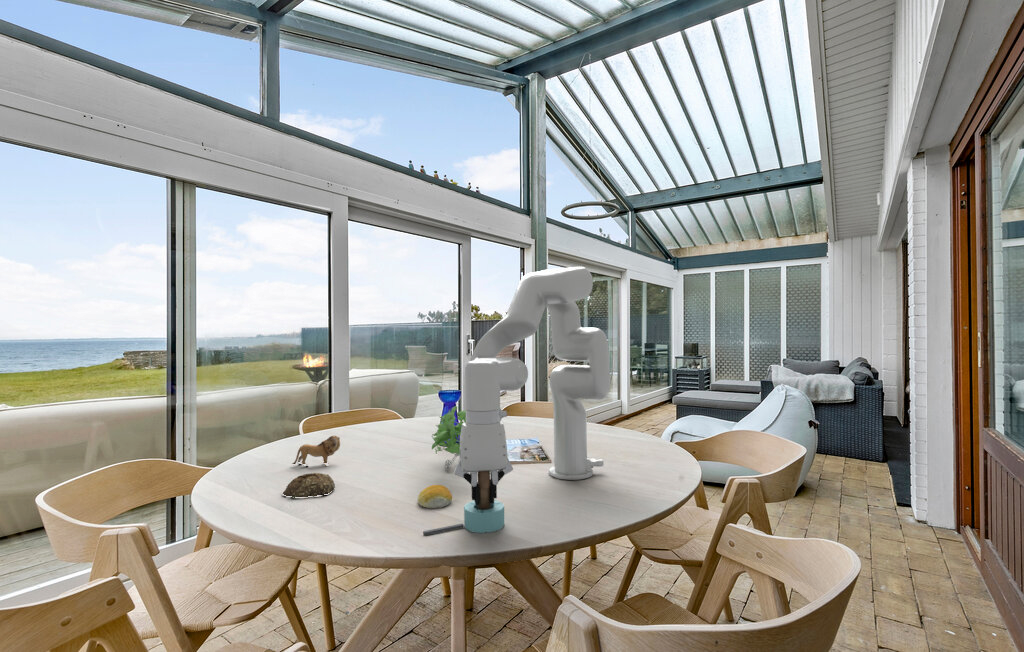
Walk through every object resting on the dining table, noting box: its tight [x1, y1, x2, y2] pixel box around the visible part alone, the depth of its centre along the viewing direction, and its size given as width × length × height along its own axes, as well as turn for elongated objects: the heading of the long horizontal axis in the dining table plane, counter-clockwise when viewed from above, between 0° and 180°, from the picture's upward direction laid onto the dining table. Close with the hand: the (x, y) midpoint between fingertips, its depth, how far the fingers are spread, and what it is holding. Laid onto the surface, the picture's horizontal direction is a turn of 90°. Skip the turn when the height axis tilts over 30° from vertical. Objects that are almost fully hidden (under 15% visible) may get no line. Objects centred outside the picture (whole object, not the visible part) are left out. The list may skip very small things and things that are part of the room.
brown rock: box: [282, 472, 336, 498], centre depth 129 cm, size 13×12×5 cm
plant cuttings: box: [431, 405, 466, 471], centre depth 148 cm, size 35×17×22 cm
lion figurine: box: [292, 435, 341, 465], centre depth 155 cm, size 15×5×9 cm, turn 107°
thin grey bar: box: [422, 523, 465, 536], centre depth 102 cm, size 9×1×1 cm, turn 117°
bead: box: [463, 499, 505, 534], centre depth 105 cm, size 8×8×4 cm
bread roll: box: [417, 484, 453, 509], centre depth 120 cm, size 8×9×4 cm
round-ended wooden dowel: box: [477, 471, 491, 510], centre depth 105 cm, size 3×3×12 cm
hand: (484, 501), depth 105 cm, fingers closed on round-ended wooden dowel, 2 cm apart
